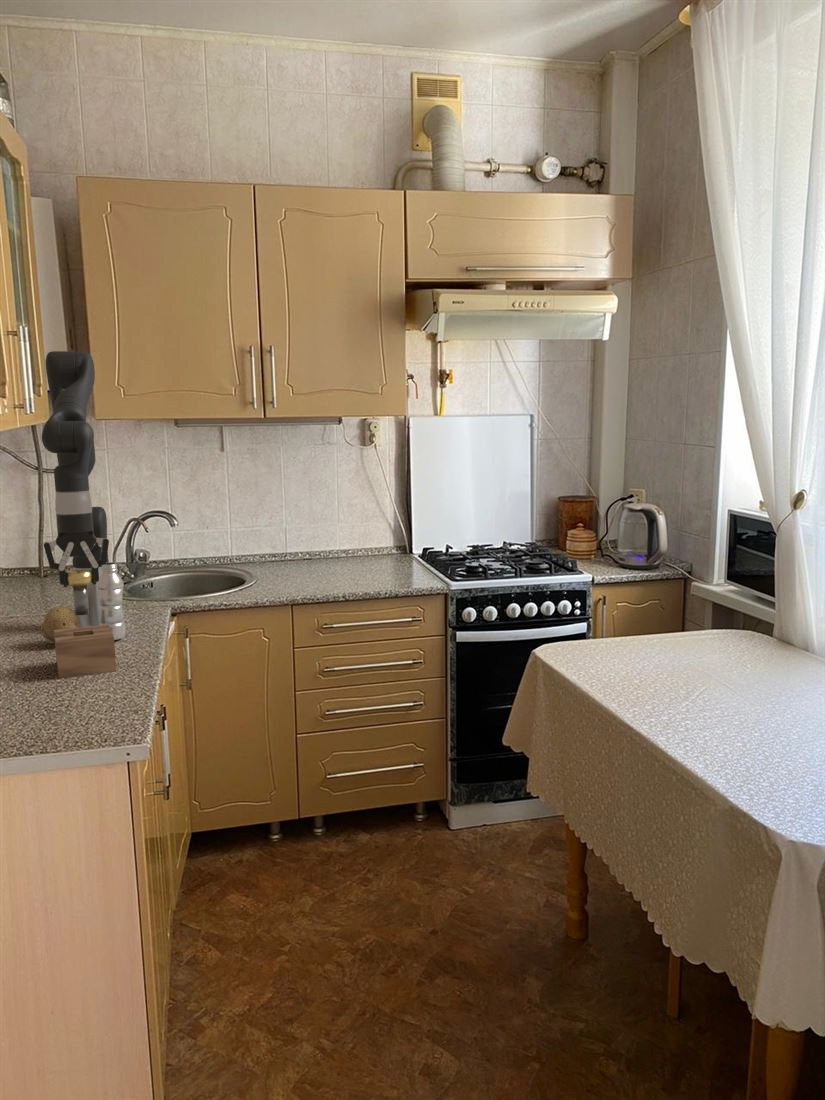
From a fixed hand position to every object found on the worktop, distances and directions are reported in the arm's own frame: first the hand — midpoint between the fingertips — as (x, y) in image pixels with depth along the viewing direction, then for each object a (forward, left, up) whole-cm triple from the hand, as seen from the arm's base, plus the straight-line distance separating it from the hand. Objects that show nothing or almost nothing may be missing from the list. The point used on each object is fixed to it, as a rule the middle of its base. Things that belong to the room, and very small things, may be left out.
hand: (79, 584), depth 189 cm
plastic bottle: (-23, +8, -19) cm, 31 cm away
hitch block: (0, 0, -19) cm, 19 cm away
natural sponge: (-24, -4, -19) cm, 31 cm away
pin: (0, 0, -7) cm, 7 cm away
